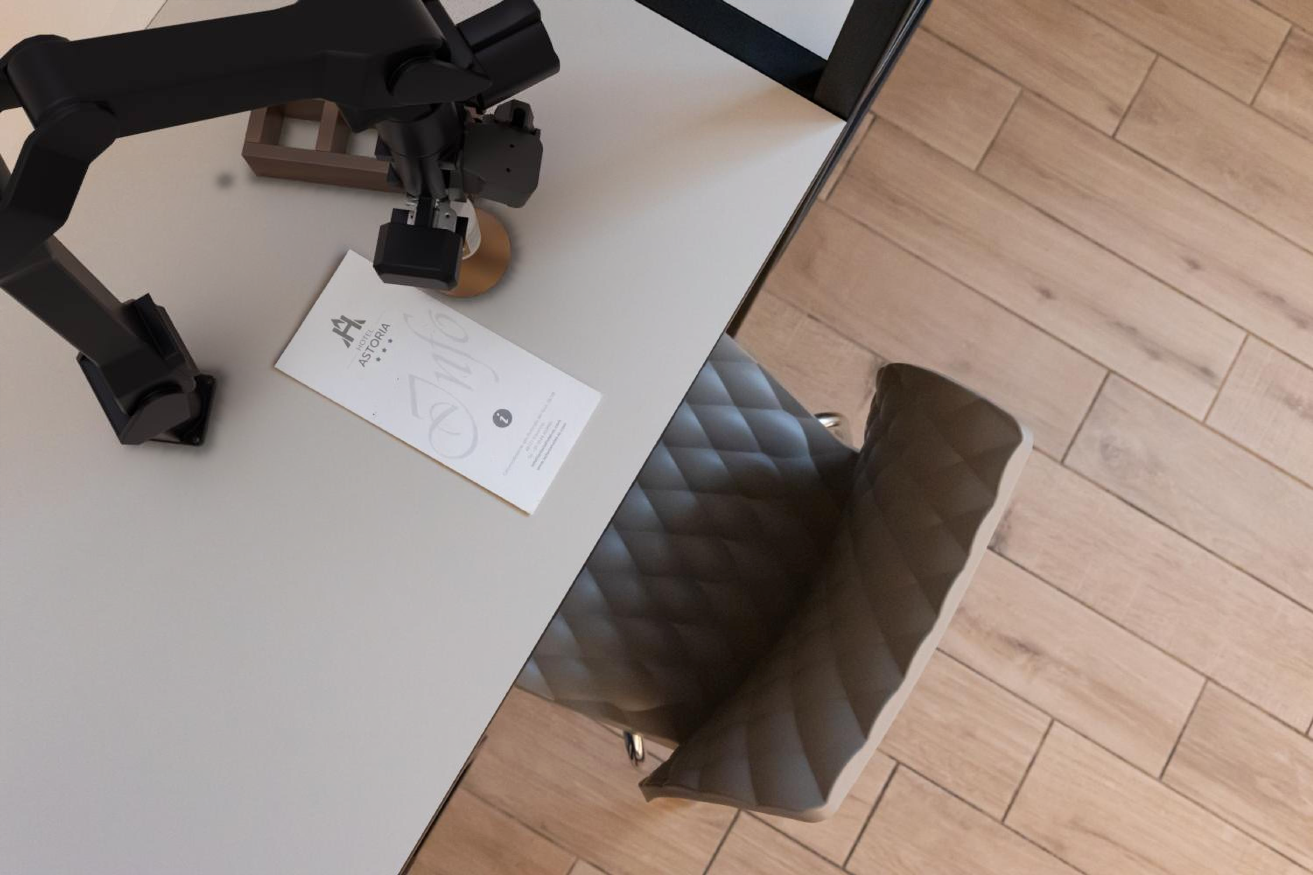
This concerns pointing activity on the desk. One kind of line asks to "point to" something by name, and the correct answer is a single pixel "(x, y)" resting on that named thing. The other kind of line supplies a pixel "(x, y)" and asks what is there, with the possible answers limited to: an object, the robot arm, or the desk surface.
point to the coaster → (484, 259)
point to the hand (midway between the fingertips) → (449, 218)
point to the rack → (316, 164)
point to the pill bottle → (472, 229)
